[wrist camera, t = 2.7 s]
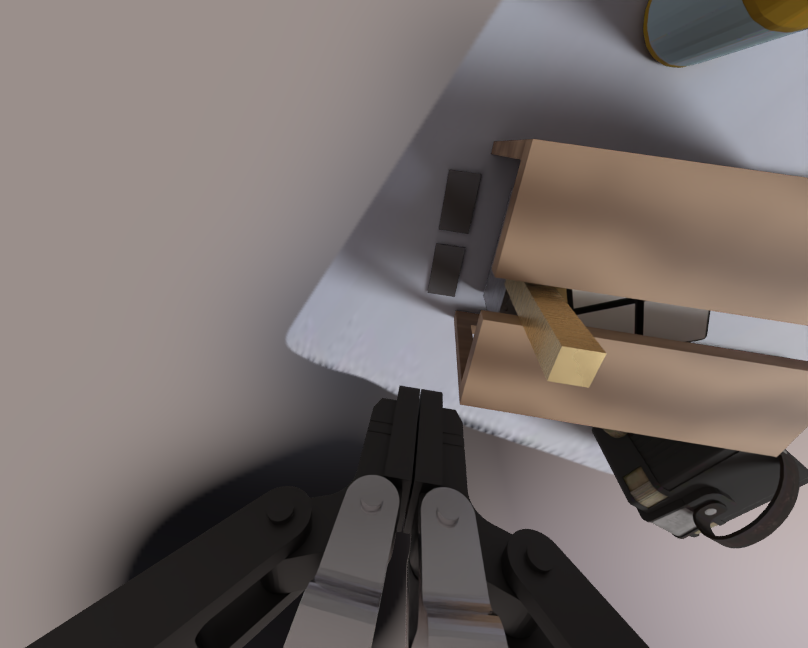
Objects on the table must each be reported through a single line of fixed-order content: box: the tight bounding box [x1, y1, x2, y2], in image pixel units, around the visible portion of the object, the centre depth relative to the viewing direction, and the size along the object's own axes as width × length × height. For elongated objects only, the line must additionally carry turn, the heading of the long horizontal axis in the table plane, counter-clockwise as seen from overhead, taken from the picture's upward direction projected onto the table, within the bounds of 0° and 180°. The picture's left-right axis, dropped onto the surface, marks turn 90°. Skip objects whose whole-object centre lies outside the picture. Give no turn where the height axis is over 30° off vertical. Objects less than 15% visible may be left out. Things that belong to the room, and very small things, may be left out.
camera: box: [592, 427, 808, 548], centre depth 35 cm, size 11×14×15 cm
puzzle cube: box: [555, 287, 710, 342], centre depth 29 cm, size 10×10×10 cm
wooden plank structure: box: [428, 139, 808, 457], centre depth 27 cm, size 18×42×14 cm, turn 83°
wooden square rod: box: [483, 188, 607, 388], centre depth 24 cm, size 11×2×20 cm, turn 173°
